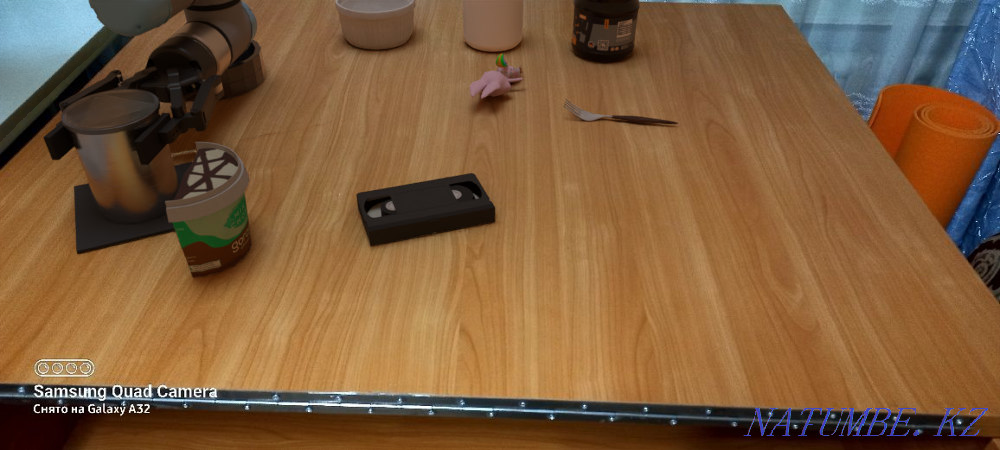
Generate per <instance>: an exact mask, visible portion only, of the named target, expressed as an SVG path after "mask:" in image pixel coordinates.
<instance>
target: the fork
mask: <svg viewBox="0 0 1000 450" xmlns="http://www.w3.org/2000/svg"><path fill="white" fill-rule="evenodd" d="M564 100H565V101H564V103H563V108H565V110H567V111H568V112H570V113H571V114H573V115H574V116H576V117H577V118H579V119H581V120H582V121H585V122H593V121H597V120H600V119H603V118H607V119H614V120H620V121H625V122H630V123H636V124H637V123H639V124H658V125H659V124H660V125H678V124H679V122H677V121H673V120H669V119H668V120H667V119H660V118H654V117H647V116H640V115H619V114H618V115H616V114H599V113H594V112H590V111H587V110H584V109H583V108H581V107H578V105H576V104H574V103H572V102H571V101H570V100H568V99H567V98H565V99H564Z"/></svg>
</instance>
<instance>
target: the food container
mask: <svg viewBox="0 0 1000 450" xmlns="http://www.w3.org/2000/svg"><path fill="white" fill-rule="evenodd" d="M194 143H195V148H196V152H195V156H194V158H193V160H192V161H191V162H192V164H191V165H190V166H189V168H188V169H187V170H186V172H185V173H184V176H183V178H182V181H181V184H180V187H179V189H178V192H177V194H176V196H175V198H174V200H173V201H165V204H166V207H167V208H166V212H167V216H168V221H169V222H172V223H173V226H174V229H175V231H174V232H175V234H176V236H177V239H178V242H179V245H180V247H181V248H180V249H181V250H182V252H183V256H184V259H185V261H186V263H187V266H188V269H189V272H190V274H191V278H203V277H207V276H211V275H217V274H219V273H222V272H224V271H226V270H229V269H230V268H233V267H235V266H236V265H238V264H239V263H240V262H241V261H243V260H244V259H245V258H246V257H247V256H248V254H249V253H250V251H251V249H252V245H253V243H252V234H251V228H250V222H249V214H248V206H247V197H246V191H247V188H248V187H249V183H250V174H249V172H248V170H247V168H246V166H245V163H244V162H243V160H242V159H241V158H240V156H239V155H238V154H237V152H235V150H233V149H232V148H231V147H228V146H226V145H223V144H220V143H217V142H216V143H215V142H208V141H195V142H194Z"/></svg>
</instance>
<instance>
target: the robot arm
mask: <svg viewBox="0 0 1000 450" xmlns="http://www.w3.org/2000/svg"><path fill="white" fill-rule="evenodd" d="M88 4H89V6H90V9H92V10H93V12H94V13H95V15H96V19H97V20H98V21H99V22H100V24H102V25H103V26H104V27H106V28H107V29H108V30H109V31H112V32H113V33H115V34H118V35H119V36H120V35H121V36H124V37H125V36H126V37H137V36H141V35H144V34H146V33H148V32H150V31H152V30H154V29H158V28H160V27H162V25H164V24H165V25H166V23H168V22H169V20H170V19H172V18H174V17H175V16H176V15H178V14H180V13H182V12H184V16H185V20H186V22H185V23H184V24H183V25H182V26H181V27H180V28H178V29H177V30H175V32H173V33H172V34H170V35H169V36H168V37H167V38H166V40H164V41H163V42H162V43H161V44H160V45H158V46H157V47H156V48H154V50H152V52H151V53H150V54H149V56H148V58H147V62H146V65H145V68H144V69H141V70H138V71H136V72H135V73H134V74H133V75H123V73H122V71H121V70H120V69H114V70H111V71H109V72H108V74H107V75H105V77H104V78H102V79H100V80H98V81H96V82H95V83H93V84H91V85H89V86H87V87H86V88H84V89H82V90H80V91H79V92H76V93H75V94H73V95H71V96H69V97H67V98H66V99H64V100H62V101H61V102H59V103H58V106H59V109H60V111H61V113H62V112H63V111H64V110H65V109H66V108H67V107H68V106H69V105H71V104H72V103H74V102H75V101H77V100H79V99H82V98H84V97H87V96H89V95H93V94H96V93H100V92H104V91H110V90H118V89H138V90H144V91H148V92H151V93H153V94H154V95H156V96H157V98H158V99H159V102H160V103H163V104H170V106H169V109H170V112H171V113H170V112H161V113H160V116H159V117H158V118H157V119H156V120H155V121H154V122H153V123H152V124H151V125H150V126H149V127H148V128H147V129H146V130H145V131H144V132H143V133H142V134H141V135H140V136H139V137H138V138H137V139H136V140H135V141H134V144H135V147H136V150H137V154H138V157H139V160H140V163H141V165H148V164H149V163H150V162H151V161H152V160H153V159H154V158H155V157H156V156H157V155H158V154H159V152H160V151H161V150H162V149H163V148H164V147H165V146H166V145H167V144H169V145H171V144H173V143H175V142H176V140H177V139H178V138H179V137H180V136H181V135H182V134H186V133H188V132H189V130H192V129H194V131H195V132H196V133H198V132H199V133H200V132H204V131H206V130H207V128H208V126H209V123H210V120H211V117H212V115H213V113H214V110H215V107H216V104H217V103H218V101H220V100H219V99H220V98H221V97H223V96H224V91H223V86H222V82H221V78H220V76H221V74H222V73H223V72H224V71H225V70H226V69H227V68H228V67H229V66H230V65H231V64H232V63H233V62H234V61H235V60H236V59H237V58H238V57H239V56H240V55H241V54H242V53H244V52H245V51H246V50H247V49H248V47H249V46H250V43H251V42H252V40H255V37H256V35H257V33H258V20H257V17H256V15H255V13H254V12H253V10H252V9H251V8H250V6H249V5H248V4H247V3H246V2H245V1H244V0H88ZM193 100H194V101H193ZM187 102H193V103H192V105H191V108H190V110H189V111H188V112H187ZM171 115H172V116H171ZM42 138H43V140H44V143H45V146H46V148H47V150H48V153H49V155H50V159H51V160H52V161H60V160H61V159H62V158H63V157H65V156H66V155H67V154H68V153H69V152H70V151H71V150H72V149H73V148H75V146H74V143H73V141H72V138H71V135H70V133H69V130H67V129H66V128H65V127H64V125H63V123H62V121H61V120H59V121H58V122H57V123H56V124H55V126H54V127H53V128H52V130H51V129H50V131H49V132H48V133H46V134H45V135H43V137H42Z"/></svg>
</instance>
